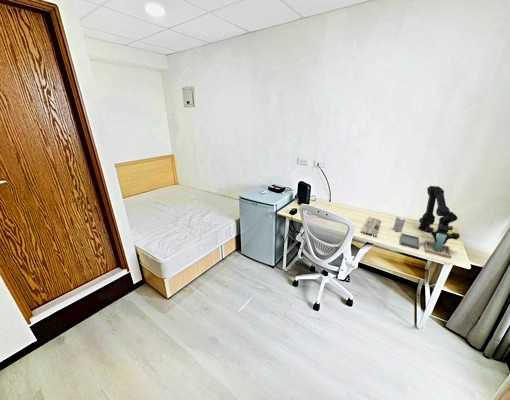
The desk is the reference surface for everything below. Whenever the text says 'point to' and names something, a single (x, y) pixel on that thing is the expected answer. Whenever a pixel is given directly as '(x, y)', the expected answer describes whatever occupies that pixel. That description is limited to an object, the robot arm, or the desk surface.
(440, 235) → the canister
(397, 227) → the skincare box
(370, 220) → the newspaper
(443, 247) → the pink square frame
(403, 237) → the tray
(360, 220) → the desk surface
